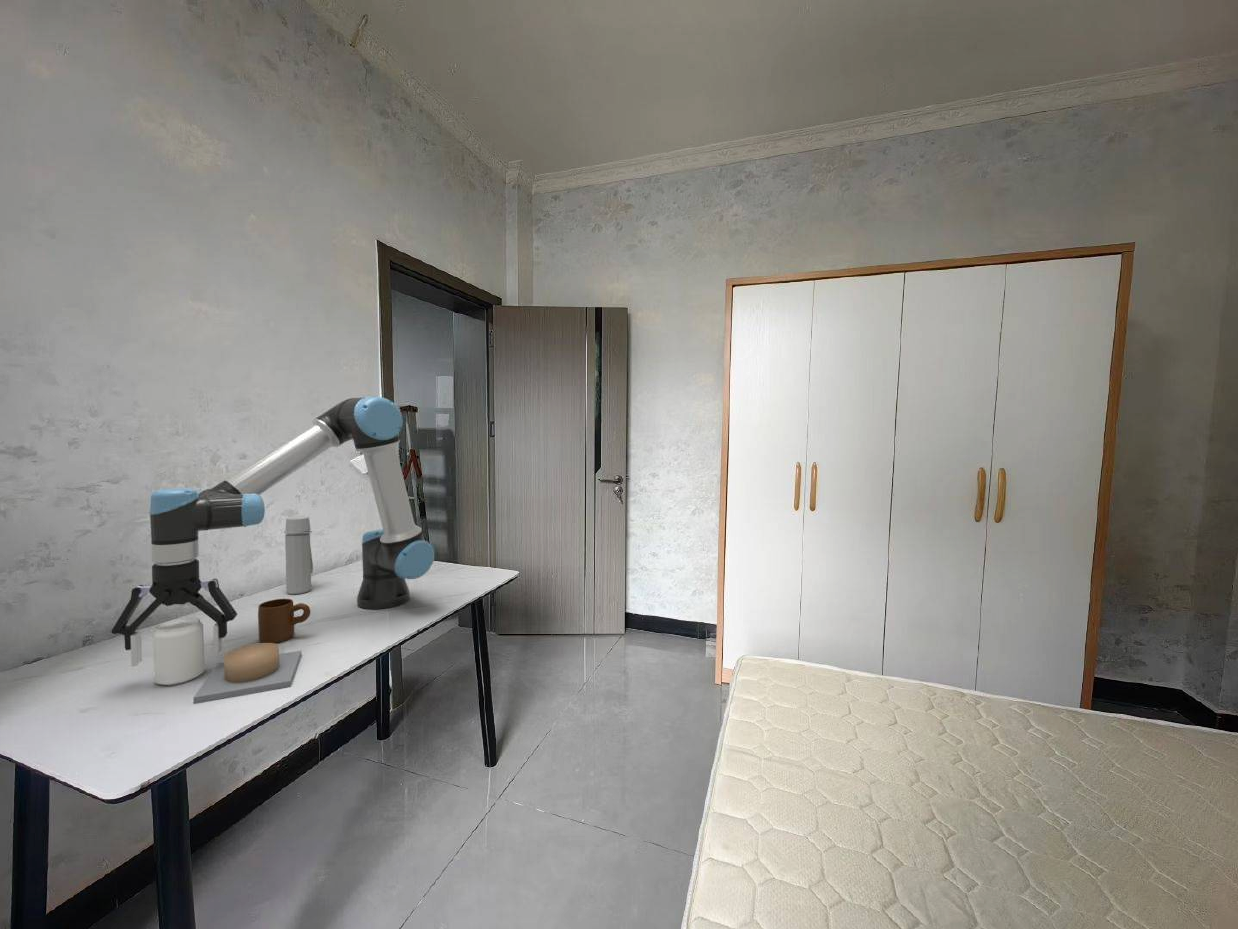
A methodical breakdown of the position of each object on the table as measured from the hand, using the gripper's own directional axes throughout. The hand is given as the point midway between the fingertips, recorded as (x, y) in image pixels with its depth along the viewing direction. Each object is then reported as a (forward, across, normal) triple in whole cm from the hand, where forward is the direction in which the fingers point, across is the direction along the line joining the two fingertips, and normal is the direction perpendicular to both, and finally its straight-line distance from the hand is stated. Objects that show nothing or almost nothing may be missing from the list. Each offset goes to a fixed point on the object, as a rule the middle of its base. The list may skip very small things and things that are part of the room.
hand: (178, 658), depth 106 cm
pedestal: (+4, -14, +6) cm, 16 cm away
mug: (+4, -17, -15) cm, 23 cm away
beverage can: (+5, 0, 0) cm, 5 cm away
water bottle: (+4, -15, -58) cm, 60 cm away
